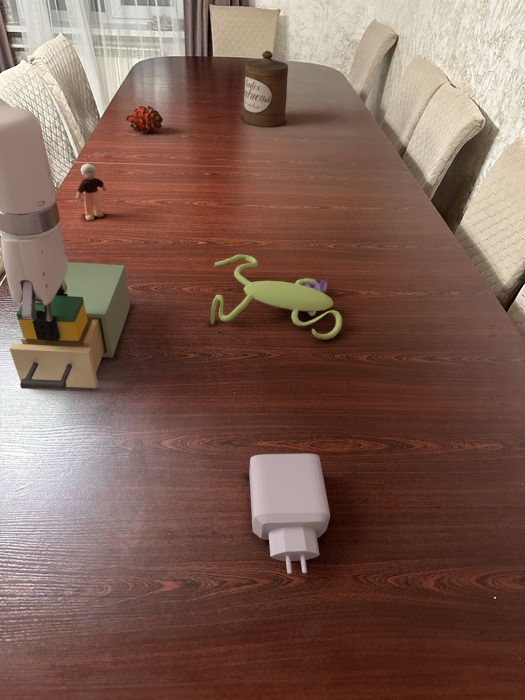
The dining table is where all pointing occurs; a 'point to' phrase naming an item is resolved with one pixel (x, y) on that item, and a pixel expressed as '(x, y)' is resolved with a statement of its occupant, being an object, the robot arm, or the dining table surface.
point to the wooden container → (265, 91)
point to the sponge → (60, 318)
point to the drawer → (60, 360)
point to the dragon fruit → (145, 119)
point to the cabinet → (101, 296)
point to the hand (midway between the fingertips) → (55, 326)
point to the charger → (289, 505)
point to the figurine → (280, 296)
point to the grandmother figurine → (90, 192)
